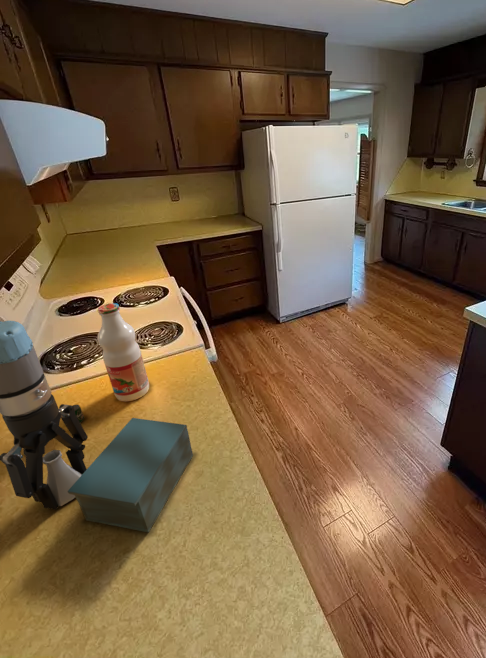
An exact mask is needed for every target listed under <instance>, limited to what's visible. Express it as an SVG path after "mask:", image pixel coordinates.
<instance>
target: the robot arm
mask: <svg viewBox="0 0 486 658" xmlns="http://www.w3.org/2000/svg"><path fill="white" fill-rule="evenodd" d="M35 349H36V348H35V347H34V342H33V340H32V339H31V337H30V336H29V335H28V333H27V331H26V329H25V326H24V325H23V324H22V323H21V322H19V321H15V320H5V321H0V415H1V417H2V420H3V421H4V423H5V426H6V427H7V430H8V431H9V432H10V434H11V435H12V436H13V446H12V447H11V448H10V449H9V450H8V452H3V453H2V452H1V454H0V462H1V463H2V464H3V465H5V468H6V470H7V474H8V477H9V479H10V483H11V485H12V489H13V491H14V494H15V497H19V498H24V499H31V498H33V501H34V502H36V503H40V504H42V506H43V508H44V509H49V510H53V511H56V510H57V509H58V508H59V507H60V506H58V504H57V501H56V499H55V497H54V495H53V493H52V491H51V489H50V487H49V485H48V484H47V483H44V464H43V457H44V455H46V446H47V445H48V444H49V443H50V441H52V440H56V441H57V442H58V443H60V444H61V445H63V446H64V447H66V448H67V450H66V452H65V454H66V457H67V459H68V462H69V464H70V467H72V468H73V469H75V470H76V471H78V472H79V473H81V474H83V473H84V472H85V471H86V470H87V469H88V468H87V467H86V464H85V462H84V459H85V453H84V450H85V449H86V444H84V442H86V441H87V440H88V438H89V436H88V435H87V433H86V431H85V429H84V428H83V426H82V423H80V422H79V420H78V419H77V417H76V415H75V409H74V406H73V405H71V404H63V403H61V404H60V405H59V406H58V403H57V401H56V399H55V396H54V394H52V390H51V387H50V385H49V382H48V380H47V377H46V375H45V373H44V369H43V367H42V365H41V362H40V360H39V357H38V355H37V351H36V350H35ZM61 421H62V423H63V424H64V426H65V427H66V429H67V431H68V432H69V433H68V432H67V431H66V430H65V429H63V428H62V427H61V426H60V424H61ZM22 451H23V452H22ZM22 453H23V454H22ZM24 456H25V461H24V460H23V459H24Z"/></svg>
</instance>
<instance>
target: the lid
mask: <svg viewBox="0 0 486 658" xmlns="http://www.w3.org/2000/svg"><path fill="white" fill-rule="evenodd" d="M186 428H187V429H188V425H187V424H182V423H175V422H168V421H160V420H153V419H144V418H138V417H137V418H136V417H132V418H130V420H129V421H128V422H127V423H126V424H125V426H124V427H123V428H121V430H120V431H119V432H118V433H117V435H115V437H114V438H113V439H112V440H111V441H110V442H109V444H108V445H107V446H106V447H105V448H104V449H103V451H101V452H100V454H99V455H98V456H97V457H96V458H95V460H94V461H93V462H91V464H90V465H89V466H88V467H87V468H86V469H87V470H86V471H85V472H84V473H83V474H82V475H81V477H80V478H79V479H78V480H77V481H76V482H75V483H74V485H73V486H72V487H71V488H70V489H69V490H68V493H69V494H73V495H78V496H84V497H89V498H95V499H100V500H106V501H111V502H116V503H122V504H127V505H133V506H136V504H137V502H138V501H139V499H140V498H141V496H142V495H143V493H144V492H145V490H146V489H147V487H148V486H149V484H150V483H151V481H152V480H153V478H154V476H155V475H156V473H157V472H158V470H159V469H160V467H161V466H162V464H163V463H164V461H165V460H166V458H167V457H168V455H169V454H170V452H171V451H172V449H173V447H174V446H175V444H176V443H177V441H178V440H179V438H180V437H181V435H182V434H183V432H184V431H185V429H186Z"/></svg>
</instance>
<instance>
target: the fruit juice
mask: <svg viewBox="0 0 486 658" xmlns="http://www.w3.org/2000/svg"><path fill="white" fill-rule="evenodd" d="M120 309H121V308H120V306H119V304H118V303H116V302H110V303H109V302H108V303H105V304H102V305H100V306H98V308H97V312H98V315H99V316H100V317H101V326H100V329H99V331H98V333H97V342H98V345H99V346H100V347H101V350H102V354H101V355H102V360H103V364H104V366H105V369H106V372H107V375H108V378H109V382H110V385H111V388H112V391H113V394H114V396H115V398H116V399H117V400H118V401H120V402H132V401H136V400H138V399H140V398H142V397H143V396H145V395H146V394H147V393H148V391H149V390H150V381H149V377H148V373H147V370H146V365H145V362H144V359H143V355H142V350H141V348H140V346H139V343H138V342H137V341H136V331H135V329H134V327H133V326H132V324H130V323H128V322H127V321H125V320H124V318H123V317H122V315H121V313H120V311H121V310H120Z"/></svg>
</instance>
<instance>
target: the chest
mask: <svg viewBox="0 0 486 658" xmlns="http://www.w3.org/2000/svg"><path fill="white" fill-rule="evenodd" d="M193 456H194V453H193V448H192V443H191V440H190V434H189V430H188V427H187V428H186V429H185V431H184V432H183V434H182V435H181V437H180V438H179V440H178V441H177V443H176V444H175V446H174V447H173V449H172V451H171V452H170V454H169V455H168V457H167V458H166V460H165V461H164V463H163V464H162V466H161V467H160V469H159V470H158V472H157V473H156V475H155V476H154V478H153V480H152V481H151V483H150V484H149V486H148V487H147V489H146V490H145V492H144V493H143V495H142V496H141V498H140V499H139V501H138V502H137V504H136V506H133V505H127V504H122V503H116V502H111V501H106V500H100V499H95V498H89V497H84V496H78V495H75V497H76V498H75V499H76V502H77V503H78V505H79V508H80V510H81V512H82V514H83V516H84V519H85V521H87V522H88V521H89V522H92V523H93V522H94V523H98V524H104V525H108V526H113V527H118V528H124V529H129V530H134V531H139V532H143V533H148V534H149V533H150V531H151V530H152V529H153V526H154V525H155V522H156V521H157V519H158V517H159V516H160V514H161V512H162V511H163V509H164V508H165V505H166V504H167V502H168V500H169V498H170V496H171V495H172V494H173V492H174V489H175V488H176V486H177V484H178V483H179V481H180V479H181V477H182V476H183V473H185V471H186V469H187V468H188V465H189V464H190V462H191V460H192V458H193Z"/></svg>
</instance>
